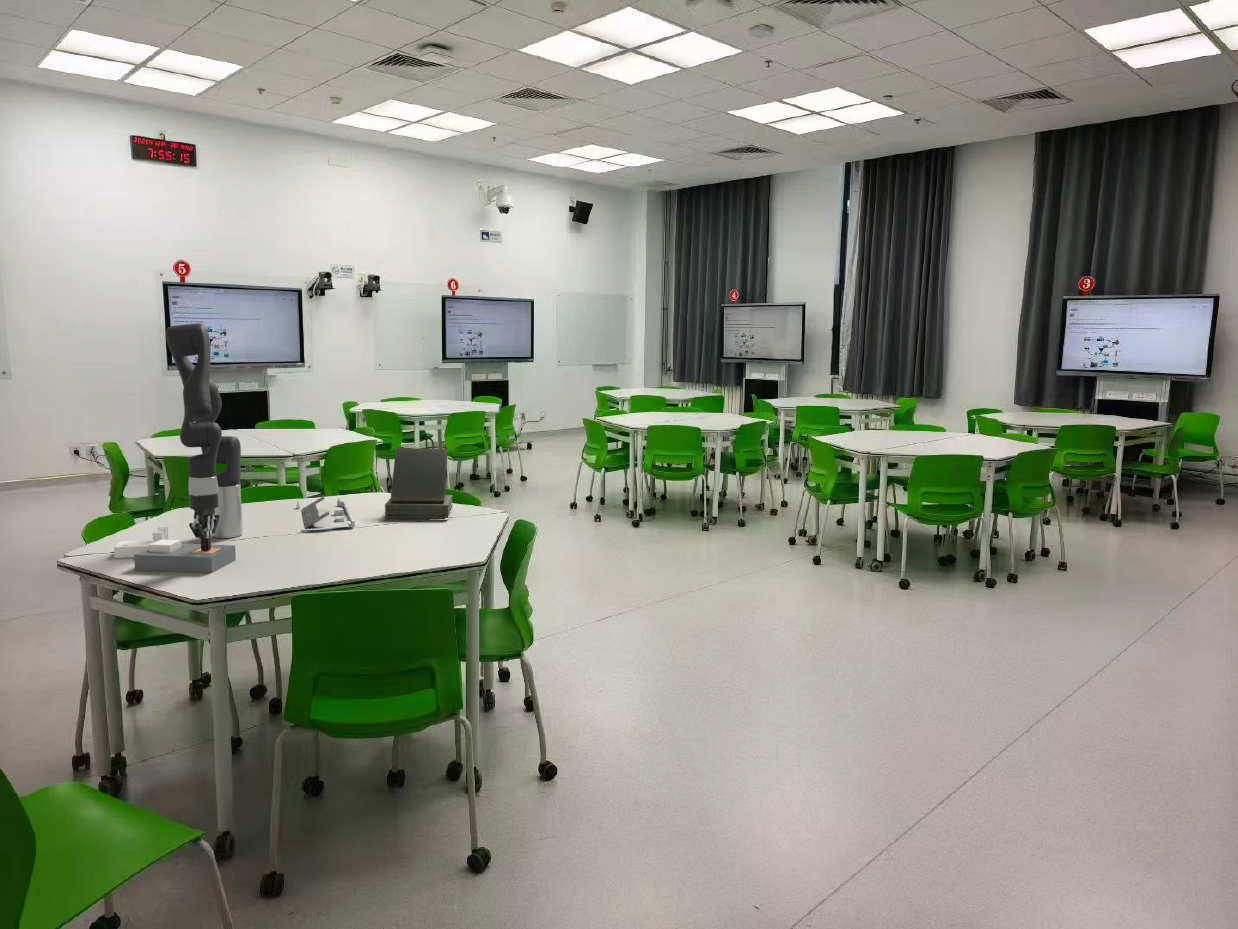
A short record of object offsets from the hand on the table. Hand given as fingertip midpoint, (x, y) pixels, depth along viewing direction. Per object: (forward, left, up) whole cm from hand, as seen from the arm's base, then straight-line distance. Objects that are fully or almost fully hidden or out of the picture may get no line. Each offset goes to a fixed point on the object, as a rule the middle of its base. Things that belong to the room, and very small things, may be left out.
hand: (206, 550), depth 241 cm
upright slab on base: (-78, +42, -5) cm, 89 cm away
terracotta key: (0, 0, -4) cm, 4 cm away
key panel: (0, -6, -5) cm, 7 cm away
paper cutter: (-67, +10, -5) cm, 67 cm away
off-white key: (0, -12, -2) cm, 12 cm away
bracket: (-10, -25, -5) cm, 28 cm away
